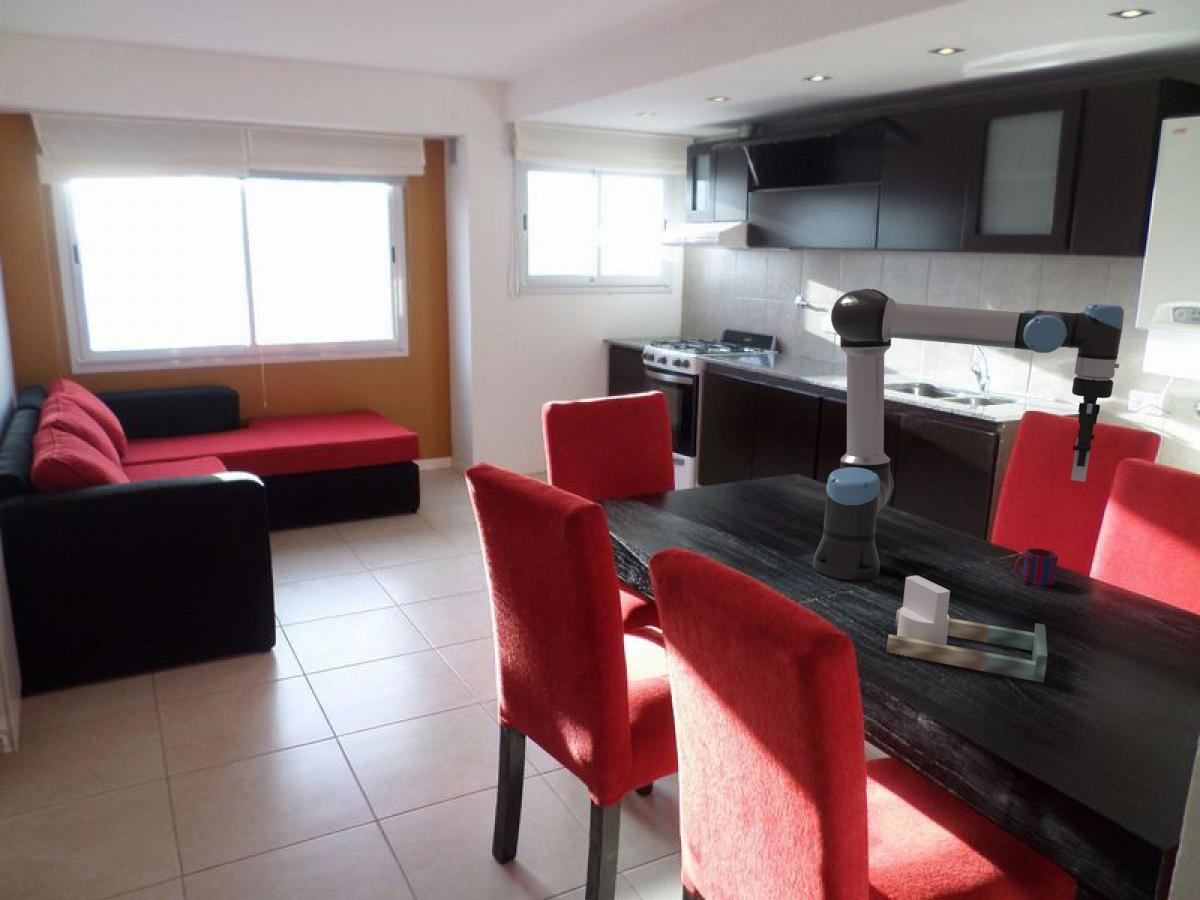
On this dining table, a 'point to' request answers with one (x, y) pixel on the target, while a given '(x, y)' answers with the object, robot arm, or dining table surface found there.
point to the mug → (1038, 566)
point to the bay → (978, 658)
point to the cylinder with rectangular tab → (924, 611)
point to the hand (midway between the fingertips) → (1078, 474)
